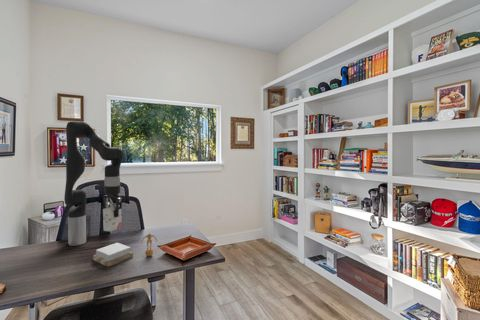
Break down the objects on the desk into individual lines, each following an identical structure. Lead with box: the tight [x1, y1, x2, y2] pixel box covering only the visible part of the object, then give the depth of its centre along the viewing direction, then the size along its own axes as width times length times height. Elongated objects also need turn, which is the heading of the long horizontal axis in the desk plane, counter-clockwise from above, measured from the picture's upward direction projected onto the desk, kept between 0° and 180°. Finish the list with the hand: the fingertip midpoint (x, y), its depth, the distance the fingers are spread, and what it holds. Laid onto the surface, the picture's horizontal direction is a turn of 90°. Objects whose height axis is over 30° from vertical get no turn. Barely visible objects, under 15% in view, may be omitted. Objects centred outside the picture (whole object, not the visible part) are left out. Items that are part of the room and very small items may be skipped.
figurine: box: [140, 233, 158, 257], centre depth 138 cm, size 8×6×12 cm
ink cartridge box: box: [102, 203, 123, 232], centre depth 133 cm, size 9×5×15 cm, turn 168°
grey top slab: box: [95, 242, 131, 261], centre depth 134 cm, size 12×12×3 cm
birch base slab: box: [92, 250, 134, 267], centre depth 134 cm, size 14×14×3 cm
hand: (112, 215), depth 133 cm, fingers closed on ink cartridge box, 6 cm apart
